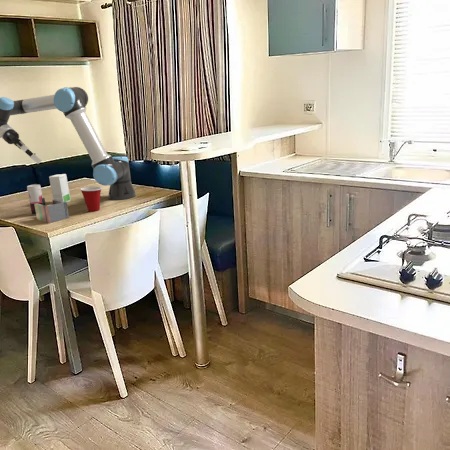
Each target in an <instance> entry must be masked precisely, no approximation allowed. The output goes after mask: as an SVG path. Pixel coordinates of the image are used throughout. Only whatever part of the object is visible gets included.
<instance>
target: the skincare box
mask: <svg viewBox="0 0 450 450" xmlns="http://www.w3.org/2000/svg"><path fill="white" fill-rule="evenodd" d="M48 178H49V184H50V190H51V195H52V200H53V199H57V200H60V201H64V202H67V203H68V202H71V200H72V199H71V194H70V188H69V183H68V177H67V174H66V173H62V174H54V175H50V176H48Z"/></svg>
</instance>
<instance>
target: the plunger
mask: <svg viewBox="0 0 450 450" xmlns="http://www.w3.org/2000/svg"><path fill="white" fill-rule="evenodd" d="M41 200H42V205H44V206H50V205H51V204H48V205H46V204H47V203H46V200H45V197H43V198H41Z"/></svg>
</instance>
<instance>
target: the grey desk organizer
mask: <svg viewBox="0 0 450 450" xmlns="http://www.w3.org/2000/svg"><path fill="white" fill-rule="evenodd" d="M67 203H68V202H64V201H60V200H57V199H53V198H52V204H49V205H50V206H44V205H41V204H38V203H36V204H34V206H35V211H36V215H35V216H36V220H37V221H40V222H43V223H46V224H51V223H55V222H58V221H62V220H66V219H69V218H70V216H69V209H68V204H67Z"/></svg>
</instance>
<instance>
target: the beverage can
mask: <svg viewBox="0 0 450 450" xmlns="http://www.w3.org/2000/svg"><path fill="white" fill-rule="evenodd" d="M26 191H27V195H28V201H29V205H30V210H31V215H33V216H36V211H35V206H34V204H36V203H38V204H41V205H42V200H41V198H44V197H43V192H42V187H41V184H37V183H34V184H30V185H27V186H26Z"/></svg>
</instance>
